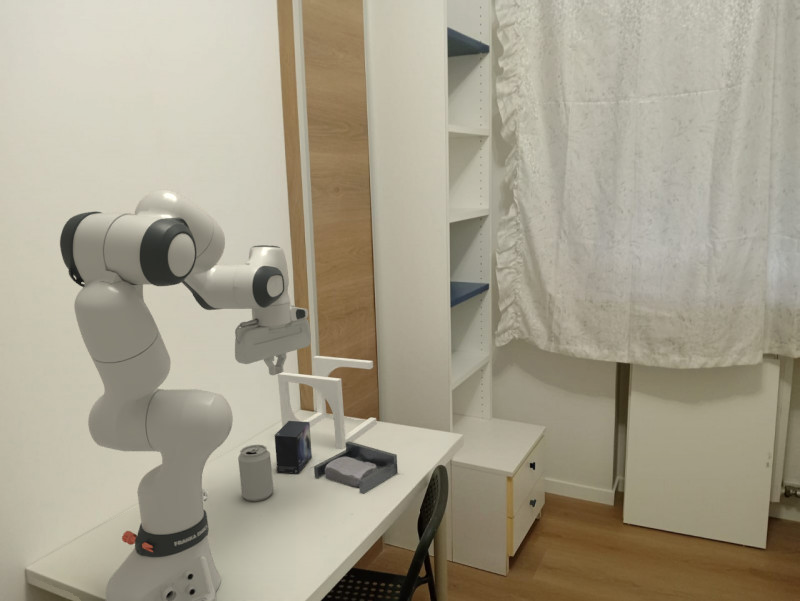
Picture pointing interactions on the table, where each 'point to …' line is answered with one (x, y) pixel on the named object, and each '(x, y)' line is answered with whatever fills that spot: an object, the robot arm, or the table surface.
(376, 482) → the grey u-shaped bracket
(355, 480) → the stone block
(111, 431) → the robot arm
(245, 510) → the table surface
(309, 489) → the table surface
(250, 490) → the can
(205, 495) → the adhesive hook
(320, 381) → the white open frame
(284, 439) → the small box
